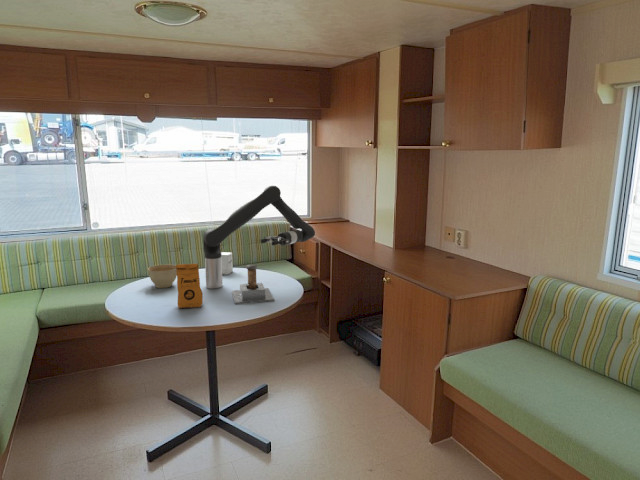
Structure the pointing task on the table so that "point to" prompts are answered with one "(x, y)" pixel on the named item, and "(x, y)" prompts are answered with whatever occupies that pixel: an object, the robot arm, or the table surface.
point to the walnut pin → (252, 276)
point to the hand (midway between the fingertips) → (266, 242)
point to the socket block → (252, 294)
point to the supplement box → (227, 262)
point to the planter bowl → (163, 275)
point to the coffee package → (188, 286)
